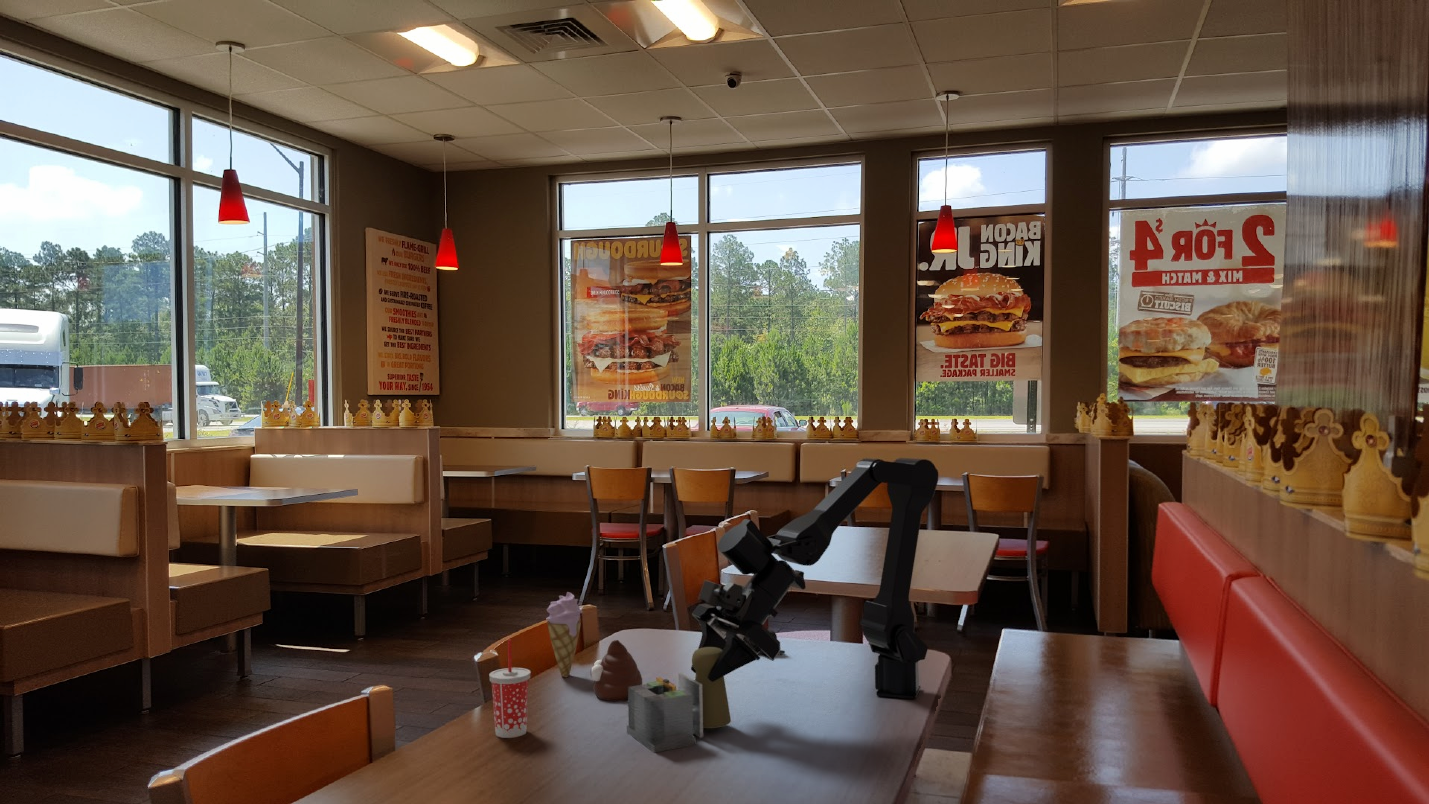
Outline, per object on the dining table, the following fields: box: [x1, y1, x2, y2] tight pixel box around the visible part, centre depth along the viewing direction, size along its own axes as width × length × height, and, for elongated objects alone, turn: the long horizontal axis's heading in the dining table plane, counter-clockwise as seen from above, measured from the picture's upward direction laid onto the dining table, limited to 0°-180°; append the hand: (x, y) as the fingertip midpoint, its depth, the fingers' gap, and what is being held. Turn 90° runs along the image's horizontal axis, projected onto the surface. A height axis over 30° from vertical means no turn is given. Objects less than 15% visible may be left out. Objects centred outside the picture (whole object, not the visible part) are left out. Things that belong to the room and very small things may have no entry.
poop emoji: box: [590, 639, 643, 702], centre depth 169 cm, size 10×8×9 cm
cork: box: [691, 647, 732, 729], centre depth 149 cm, size 6×6×11 cm
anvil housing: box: [626, 680, 697, 753], centre depth 145 cm, size 6×10×7 cm, turn 28°
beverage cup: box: [488, 638, 531, 739], centre depth 149 cm, size 6×6×14 cm
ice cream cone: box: [545, 591, 584, 678], centre depth 180 cm, size 7×6×15 cm
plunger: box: [655, 672, 704, 738], centre depth 147 cm, size 4×7×8 cm, turn 28°
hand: (701, 675), depth 149 cm, fingers closed on cork, 5 cm apart
